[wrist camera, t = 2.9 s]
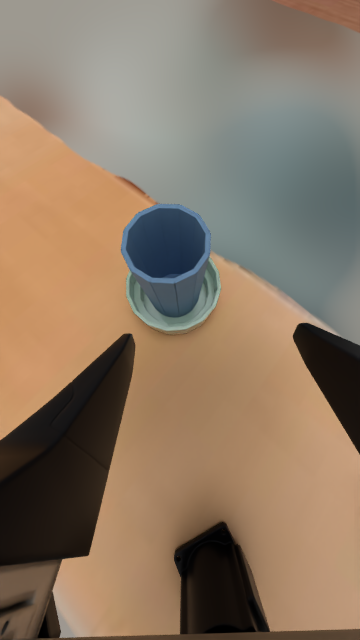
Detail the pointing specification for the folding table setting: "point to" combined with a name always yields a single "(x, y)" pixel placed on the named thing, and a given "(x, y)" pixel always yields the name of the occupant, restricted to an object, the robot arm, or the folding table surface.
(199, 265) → the tumbler
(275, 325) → the folding table surface
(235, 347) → the folding table surface
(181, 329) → the bowl
